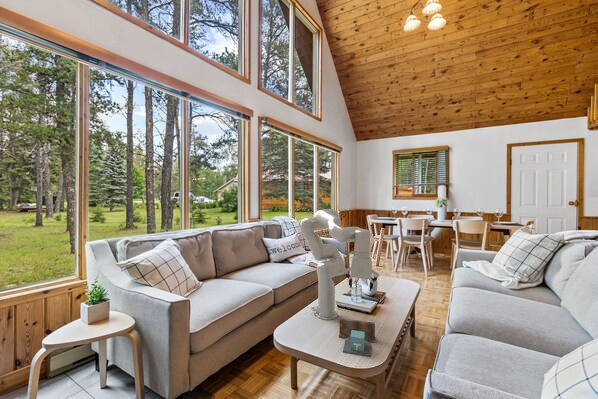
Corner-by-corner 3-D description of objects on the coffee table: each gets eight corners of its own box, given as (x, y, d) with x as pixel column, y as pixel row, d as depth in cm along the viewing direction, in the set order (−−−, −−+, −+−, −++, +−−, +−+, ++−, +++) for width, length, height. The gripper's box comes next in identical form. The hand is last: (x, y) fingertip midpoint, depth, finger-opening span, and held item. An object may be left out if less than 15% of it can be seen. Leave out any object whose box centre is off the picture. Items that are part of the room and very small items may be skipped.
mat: (342, 352, 124) (342, 350, 124) (345, 340, 134) (345, 339, 134) (370, 356, 121) (370, 355, 121) (371, 344, 130) (371, 343, 130)
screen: (338, 337, 137) (338, 321, 136) (340, 331, 142) (340, 316, 142) (374, 342, 132) (374, 326, 132) (374, 336, 138) (375, 320, 137)
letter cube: (350, 349, 125) (350, 336, 125) (351, 342, 131) (351, 330, 131) (363, 351, 123) (363, 338, 123) (364, 344, 129) (364, 331, 129)
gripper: (343, 254, 136) (341, 288, 137) (379, 258, 131) (378, 293, 132) (345, 251, 143) (344, 283, 144) (380, 254, 138) (379, 288, 139)
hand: (360, 288), depth 138 cm, fingers open, 9 cm apart
